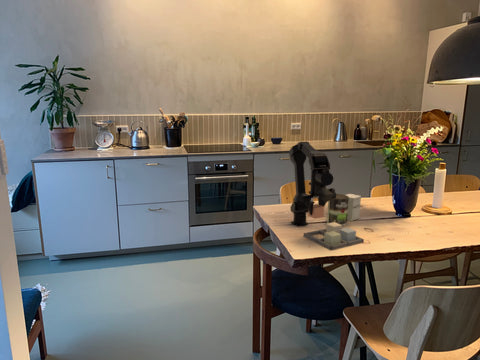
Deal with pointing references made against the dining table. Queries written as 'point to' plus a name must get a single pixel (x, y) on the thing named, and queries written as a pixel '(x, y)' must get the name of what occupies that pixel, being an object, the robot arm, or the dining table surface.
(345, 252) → the dining table surface
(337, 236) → the charcoal frame
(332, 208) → the coffee can
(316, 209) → the terracotta block
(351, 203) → the supplement box
